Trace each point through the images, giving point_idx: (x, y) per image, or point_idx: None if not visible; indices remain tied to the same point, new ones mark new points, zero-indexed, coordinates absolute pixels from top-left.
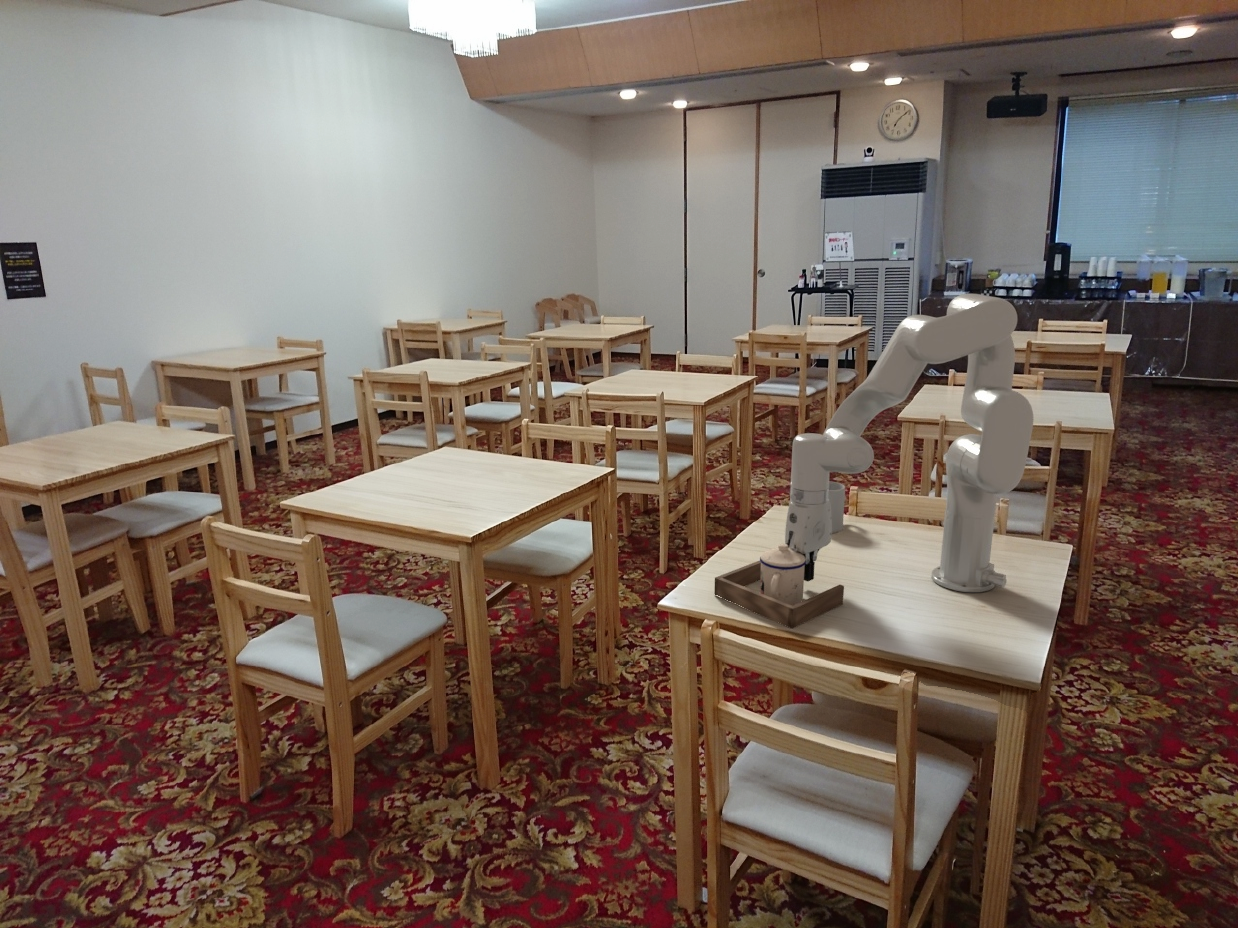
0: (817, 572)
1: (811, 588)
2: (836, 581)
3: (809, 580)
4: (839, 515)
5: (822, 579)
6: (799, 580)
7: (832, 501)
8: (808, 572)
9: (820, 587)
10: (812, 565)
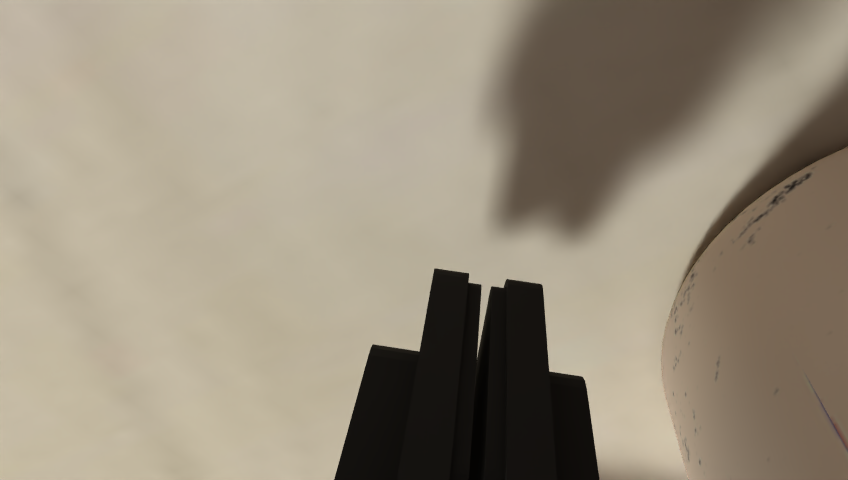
0: (55, 343)
1: (432, 219)
2: (48, 100)
3: (531, 283)
4: None
5: (141, 239)
6: None
7: None
8: (545, 382)
9: (334, 158)
10: (453, 445)
